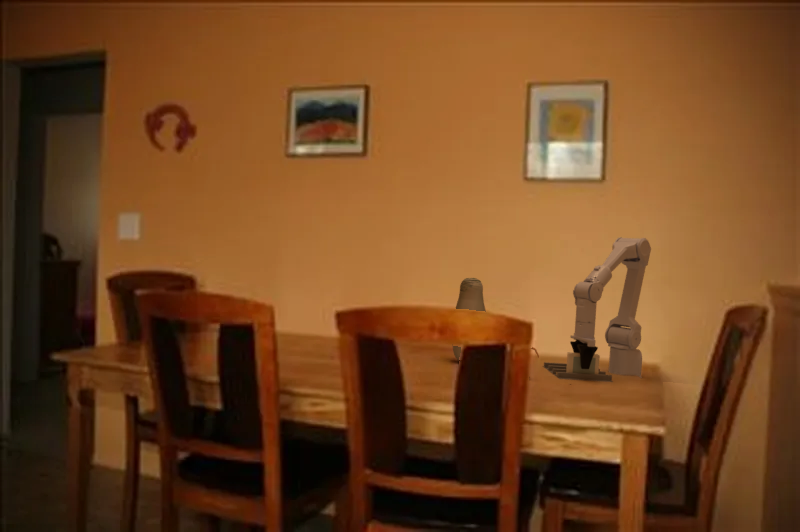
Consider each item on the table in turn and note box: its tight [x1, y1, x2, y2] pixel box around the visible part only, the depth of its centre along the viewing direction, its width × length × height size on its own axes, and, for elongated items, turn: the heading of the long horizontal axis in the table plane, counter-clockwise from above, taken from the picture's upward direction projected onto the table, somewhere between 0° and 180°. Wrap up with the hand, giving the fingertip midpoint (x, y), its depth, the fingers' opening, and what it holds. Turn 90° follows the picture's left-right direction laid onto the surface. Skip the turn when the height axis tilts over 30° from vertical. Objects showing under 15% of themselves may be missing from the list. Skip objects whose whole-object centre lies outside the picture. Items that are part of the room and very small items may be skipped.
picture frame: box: [566, 352, 601, 374], centre depth 188 cm, size 9×2×7 cm, turn 91°
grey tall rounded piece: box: [452, 277, 487, 361], centre depth 207 cm, size 10×10×28 cm
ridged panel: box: [542, 361, 614, 383], centre depth 194 cm, size 16×20×2 cm
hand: (582, 367), depth 188 cm, fingers open, 5 cm apart
